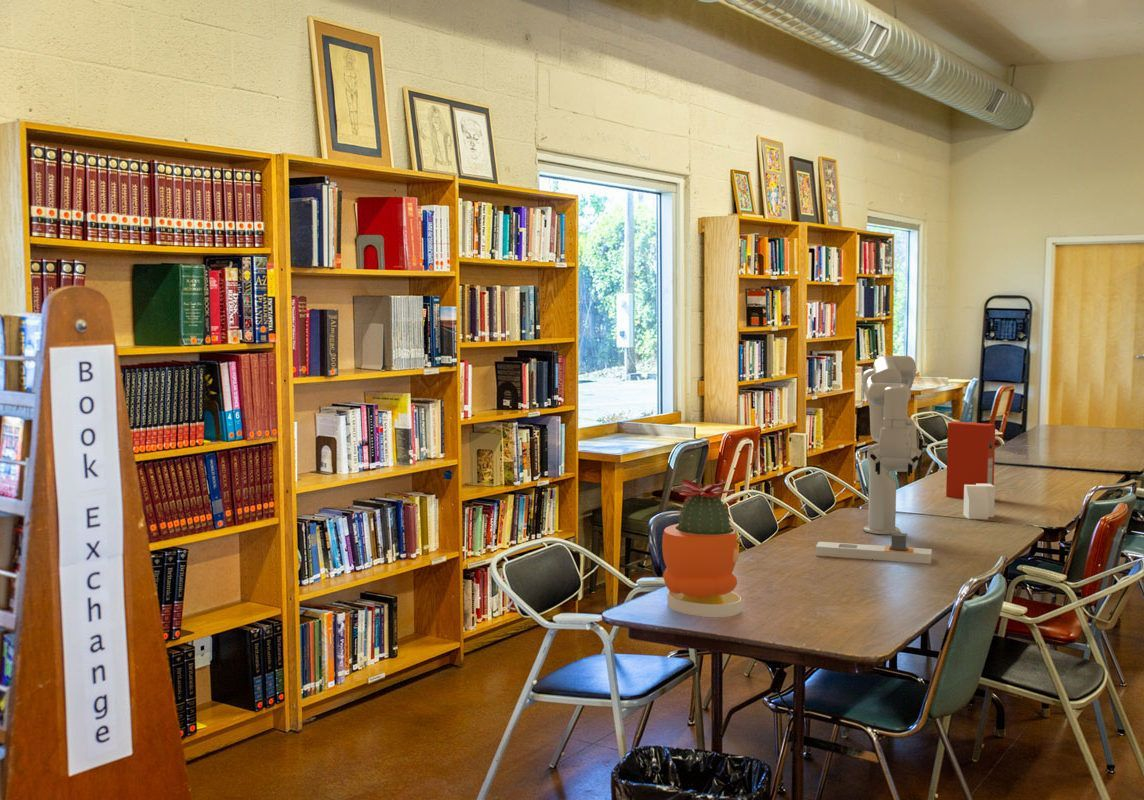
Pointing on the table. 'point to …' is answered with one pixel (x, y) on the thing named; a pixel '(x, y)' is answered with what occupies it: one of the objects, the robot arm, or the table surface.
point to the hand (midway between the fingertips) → (893, 474)
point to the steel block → (899, 541)
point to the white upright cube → (979, 501)
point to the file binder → (969, 456)
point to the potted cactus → (701, 555)
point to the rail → (873, 552)
